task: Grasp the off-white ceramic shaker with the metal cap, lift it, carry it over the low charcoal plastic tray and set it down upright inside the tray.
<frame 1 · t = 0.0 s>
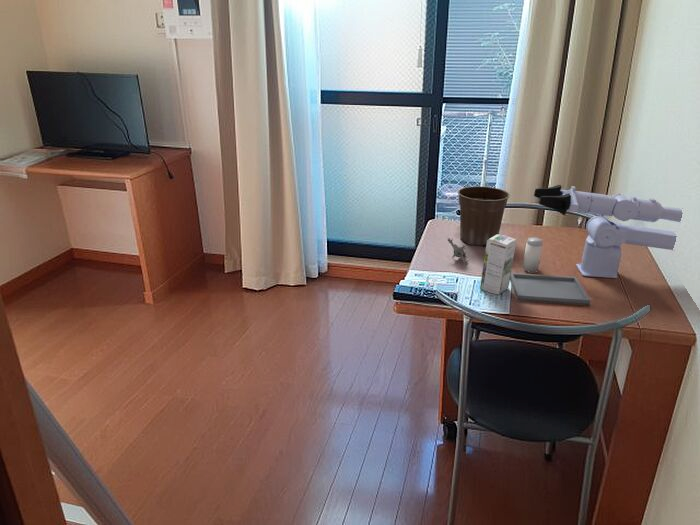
hand: (537, 196, 150), 22 cm above the table, tool horizontal, fingers open, 7 cm apart
tray: (547, 290, 145), on the table
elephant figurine: (456, 260, 164), on the table
plant pot: (477, 240, 179), on the table
shaker: (530, 269, 158), on the table
syrup box: (494, 289, 145), on the table
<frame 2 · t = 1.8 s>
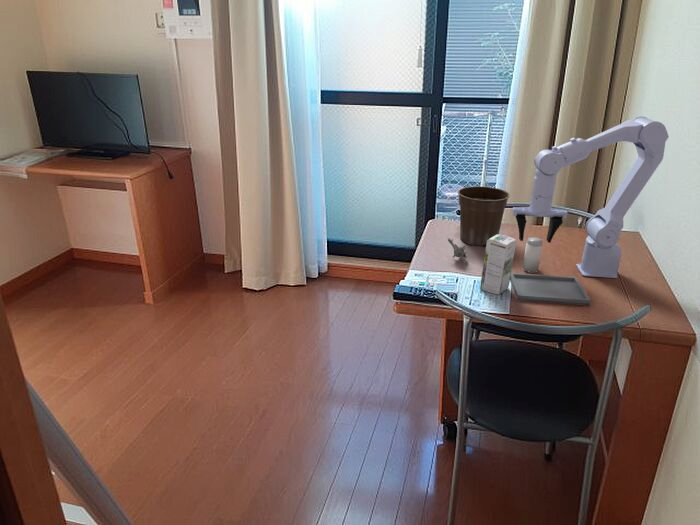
hand: (534, 240, 154), 9 cm above the table, tool pointing down, fingers open, 7 cm apart
nothing on the table moved.
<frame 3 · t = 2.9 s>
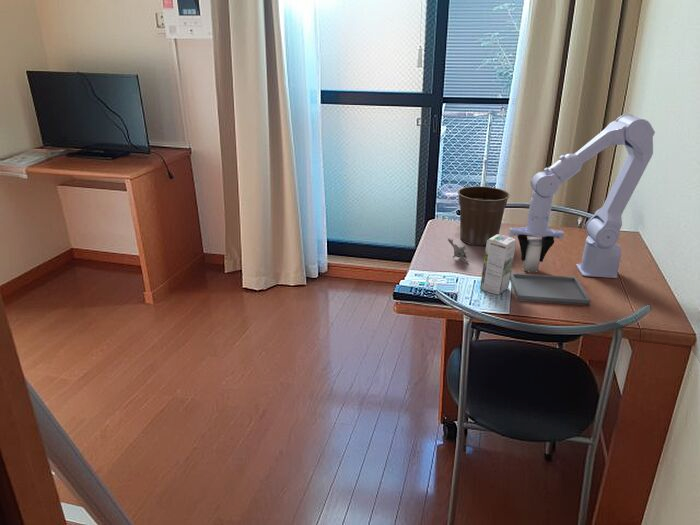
hand: (531, 259, 156), 3 cm above the table, tool pointing down, fingers closed on shaker, 4 cm apart
shaker: (530, 269, 158), on the table, touching gripper
everything else where it was.
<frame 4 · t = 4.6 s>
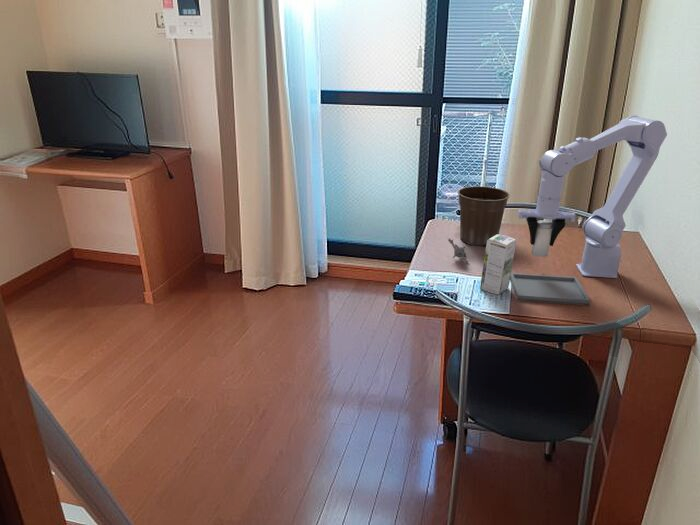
hand: (541, 243, 149), 10 cm above the table, tool pointing down, fingers closed on shaker, 4 cm apart
shaker: (539, 253, 150), point 7 cm above the table, touching gripper
everything else where it was.
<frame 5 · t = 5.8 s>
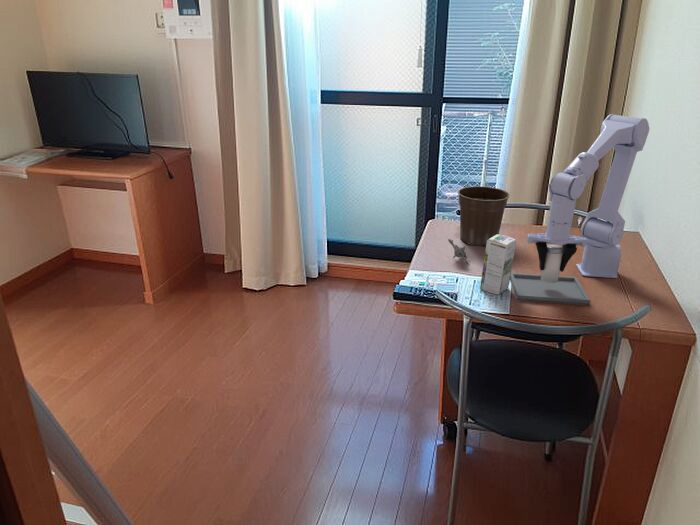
hand: (551, 269, 142), 6 cm above the table, tool pointing down, fingers closed on shaker, 4 cm apart
shaker: (549, 279, 143), point 3 cm above the table, touching gripper
everything else where it was.
when the fingers open (5 cm above the table, at t = 6.5 s): shaker drops 1 cm, resting on tray.
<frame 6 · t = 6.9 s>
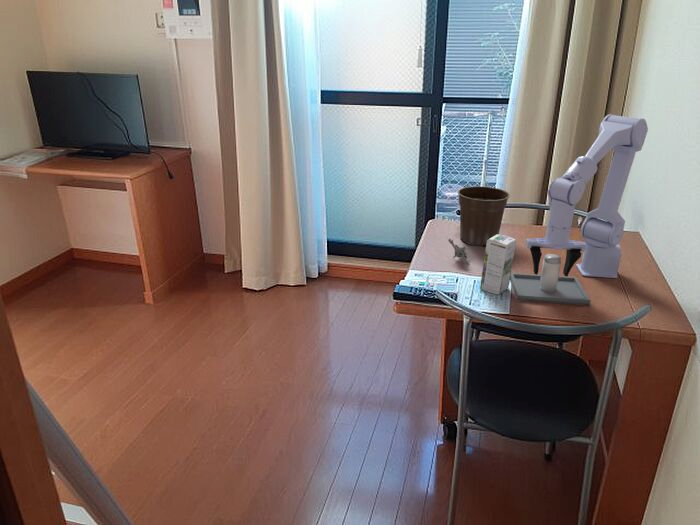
hand: (550, 273, 143), 5 cm above the table, tool pointing down, fingers open, 7 cm apart
shaker: (547, 288, 145), point 1 cm above the table, touching tray
everything else where it was.
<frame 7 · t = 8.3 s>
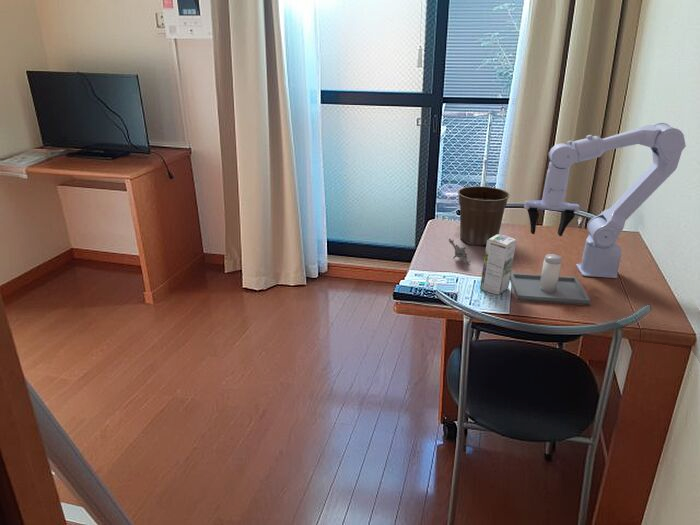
hand: (546, 233, 155), 10 cm above the table, tool pointing down, fingers open, 7 cm apart
nothing on the table moved.
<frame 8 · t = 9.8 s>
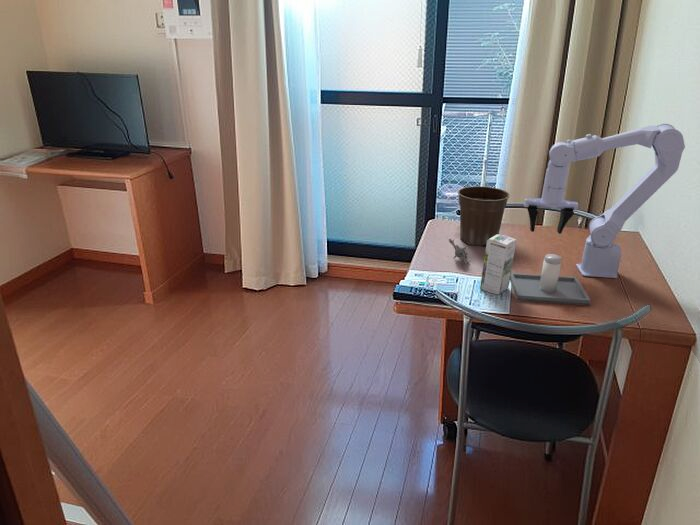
hand: (545, 231, 157), 10 cm above the table, tool pointing down, fingers open, 7 cm apart
nothing on the table moved.
at the end: shaker inside the target area on the tray (0.1 cm from its centre), point 0.6 cm above the tray's base; shaker tilted 0°; the gripper is holding nothing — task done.
